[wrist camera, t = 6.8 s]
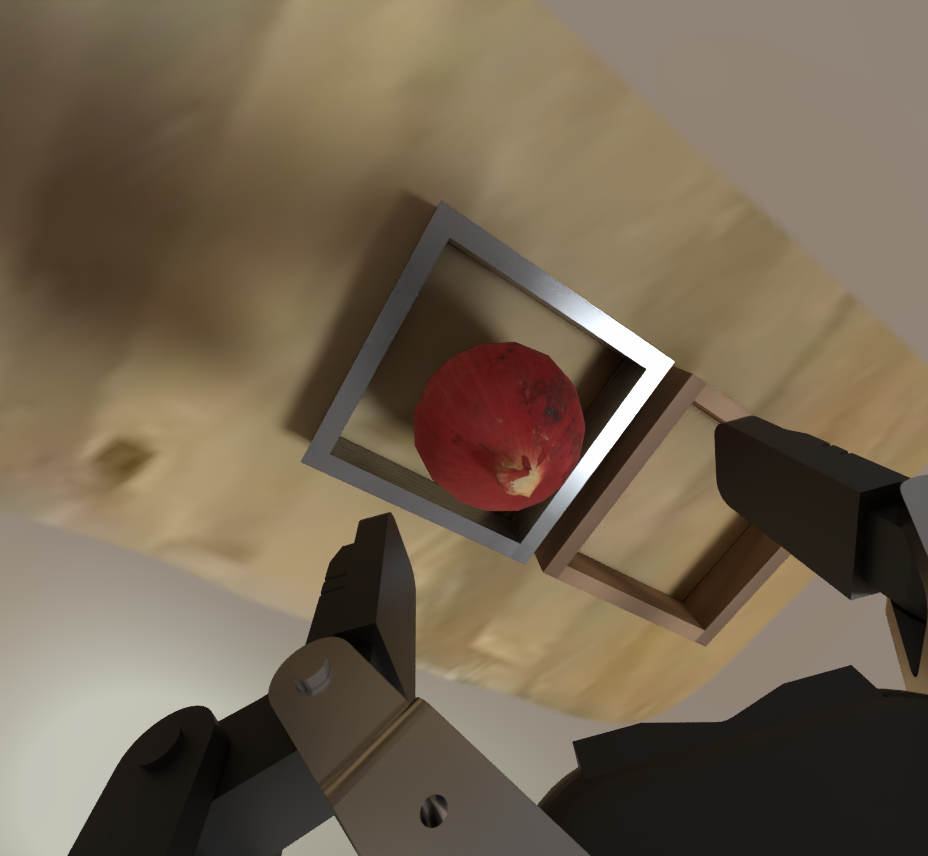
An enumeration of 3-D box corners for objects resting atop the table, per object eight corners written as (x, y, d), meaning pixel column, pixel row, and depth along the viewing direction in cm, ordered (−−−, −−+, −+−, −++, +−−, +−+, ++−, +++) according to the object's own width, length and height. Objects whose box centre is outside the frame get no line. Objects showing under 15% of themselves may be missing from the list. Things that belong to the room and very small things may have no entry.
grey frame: (311, 442, 19) (300, 462, 17) (437, 207, 16) (441, 200, 15) (514, 538, 22) (525, 564, 20) (648, 351, 19) (674, 361, 17)
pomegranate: (485, 297, 18) (542, 323, 10) (573, 394, 20) (675, 475, 12) (384, 398, 19) (370, 489, 11) (478, 482, 21) (519, 607, 13)
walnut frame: (531, 546, 22) (543, 572, 20) (665, 363, 20) (692, 374, 18) (683, 618, 25) (705, 646, 23) (817, 467, 23) (853, 485, 21)
